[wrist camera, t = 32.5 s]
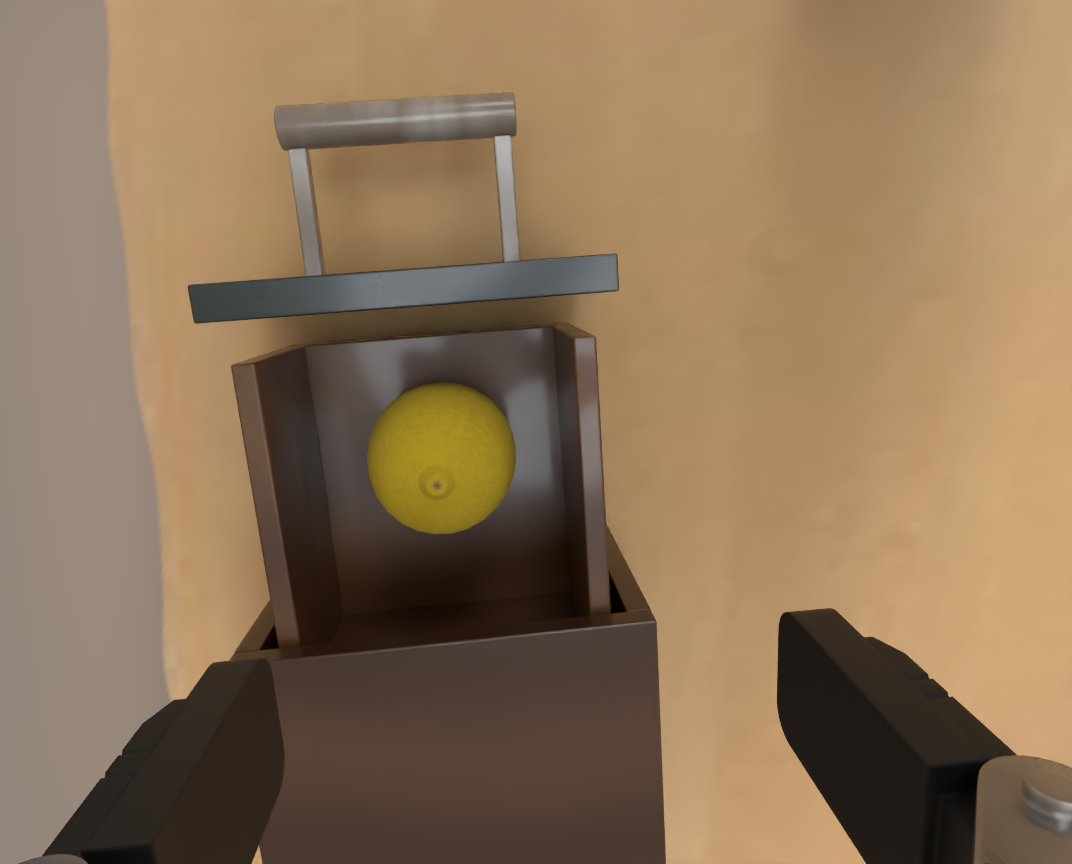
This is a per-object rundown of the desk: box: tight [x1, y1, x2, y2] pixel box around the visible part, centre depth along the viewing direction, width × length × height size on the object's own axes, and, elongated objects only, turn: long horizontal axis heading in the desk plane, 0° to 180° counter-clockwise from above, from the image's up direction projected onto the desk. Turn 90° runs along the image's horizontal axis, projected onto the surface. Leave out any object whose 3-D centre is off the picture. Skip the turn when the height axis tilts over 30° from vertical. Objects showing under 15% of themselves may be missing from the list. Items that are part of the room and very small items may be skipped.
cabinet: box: [229, 525, 666, 864], centre depth 30 cm, size 17×15×10 cm
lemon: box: [367, 382, 516, 534], centre depth 26 cm, size 6×6×8 cm
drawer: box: [188, 92, 619, 648], centre depth 27 cm, size 21×14×8 cm, turn 4°
